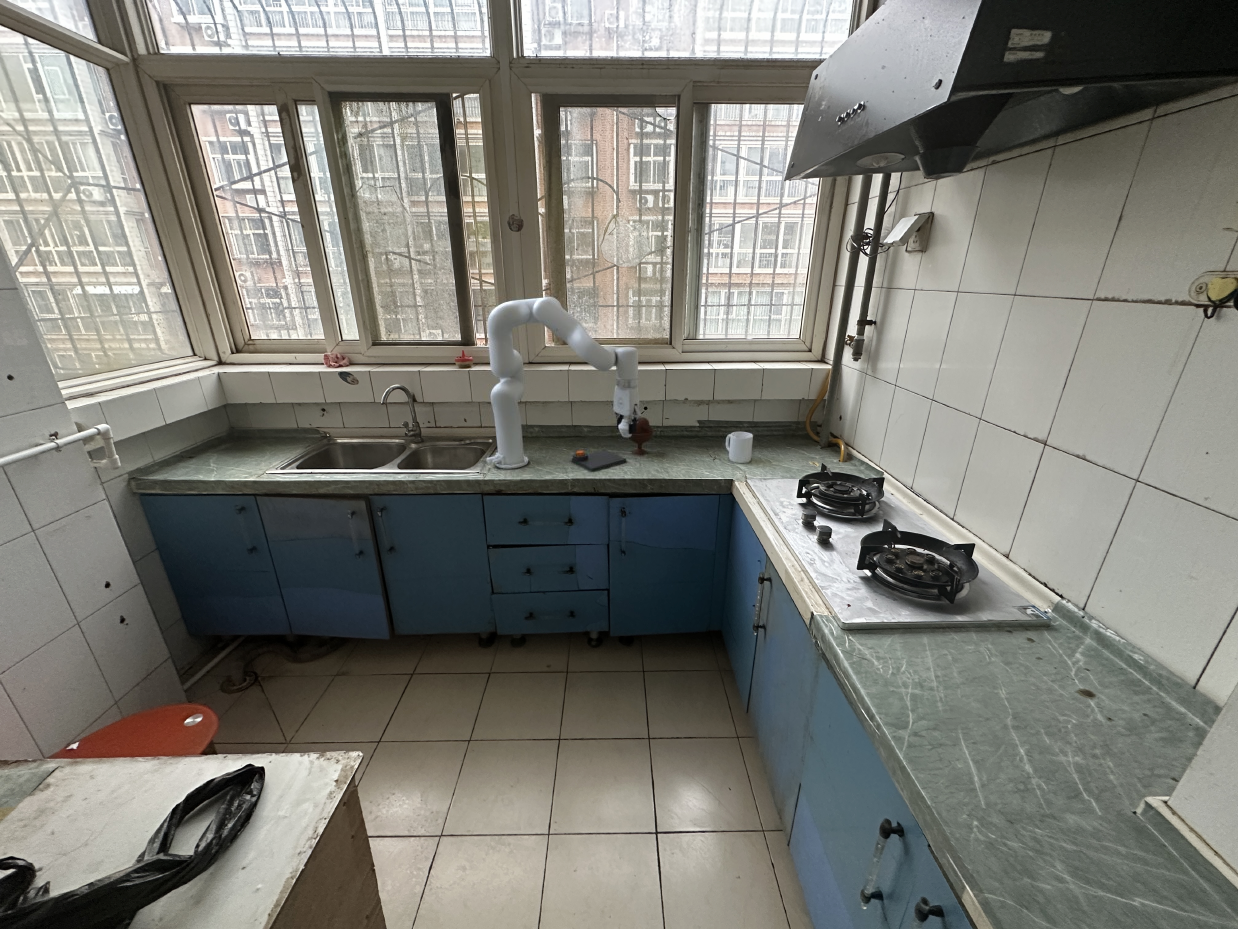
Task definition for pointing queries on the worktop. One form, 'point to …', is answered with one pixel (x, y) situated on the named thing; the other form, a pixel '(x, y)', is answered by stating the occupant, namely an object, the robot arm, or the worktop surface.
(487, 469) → the worktop surface
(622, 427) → the muffin
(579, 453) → the button
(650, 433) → the ice cream bowl
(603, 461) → the scale
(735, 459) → the cup
